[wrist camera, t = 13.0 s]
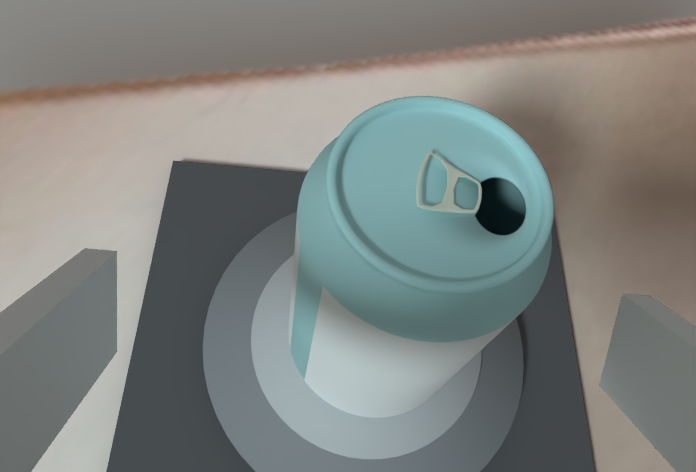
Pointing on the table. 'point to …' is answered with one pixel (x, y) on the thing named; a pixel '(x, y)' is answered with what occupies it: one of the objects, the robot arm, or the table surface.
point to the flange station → (283, 376)
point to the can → (413, 251)
